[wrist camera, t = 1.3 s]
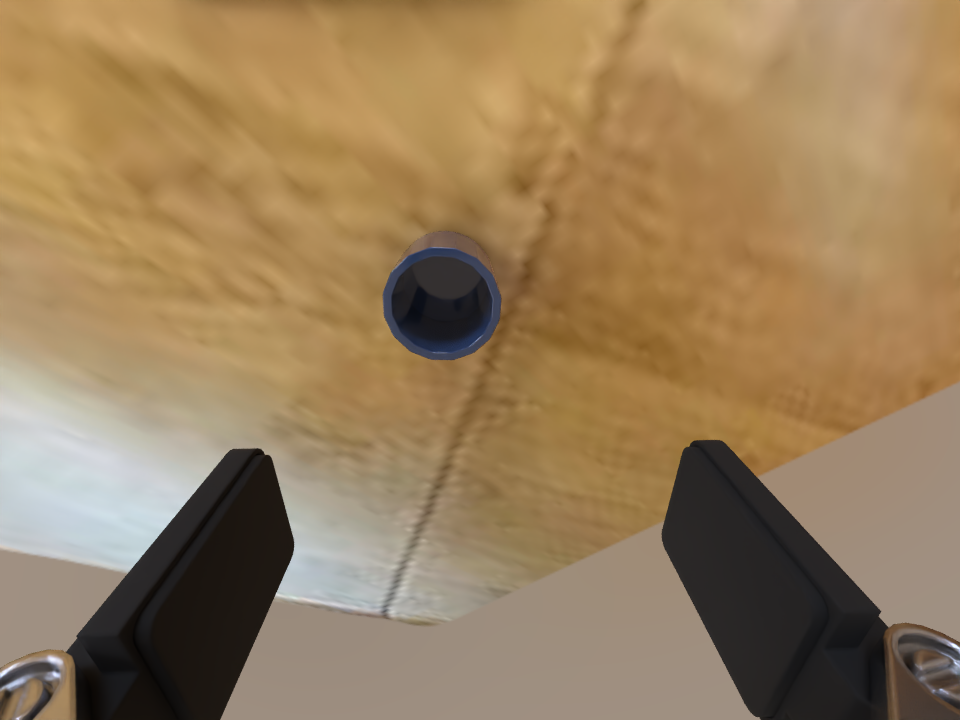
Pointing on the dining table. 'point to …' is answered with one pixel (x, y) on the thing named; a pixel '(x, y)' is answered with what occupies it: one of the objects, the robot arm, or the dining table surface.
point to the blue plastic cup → (442, 297)
